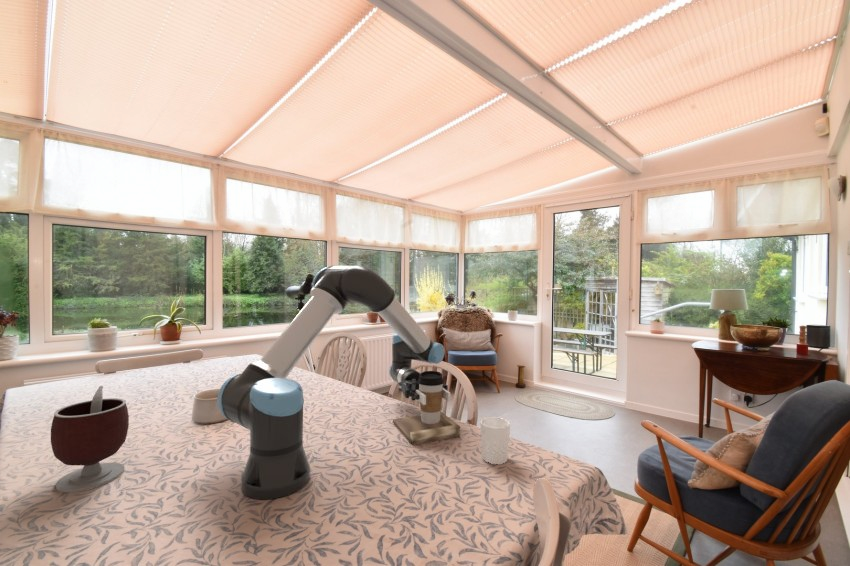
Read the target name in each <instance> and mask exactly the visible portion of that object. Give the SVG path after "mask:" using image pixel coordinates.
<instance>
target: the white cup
mask: <svg viewBox="0 0 850 566" xmlns="http://www.w3.org/2000/svg"><path fill="white" fill-rule="evenodd" d="M510 431H511V423H510V421H509V420H507V419H505V418H502V417H498V416H489V417H484V418H481V420H480V442H481V452H482V453H481V458H482V460H483V459H484V460H485V461H484V460H483V461H484V462H486V463H488V462H489V463H488V464H490V463H491V465H496V464H498V465H504V464H506V463H507V461H508V459H509V458H508V456H509V447H510V445H509V443H510V433H511V432H510ZM505 462H506V463H505ZM503 463H504V464H503Z"/></svg>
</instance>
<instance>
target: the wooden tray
mask: <svg viewBox="0 0 850 566" xmlns="http://www.w3.org/2000/svg"><path fill="white" fill-rule="evenodd" d="M393 423H394V424H393ZM392 424H393V425H394V427H396V429H397V430H398V429H399V430H400V431H399V432H400V433H401V434H402V435H403V437H404V438H405V437H406V438H405V439H406V440H407V441H408V442H409V443H410V444H412V445H411V446H414V444H416V445H420V443H421V444H426V442H427V443H431V442H436V441H437V442H439V441H442V440H443V439H444V440H448V439H455V438H460V437H461V425H459V424H458V423H456V422H455V421H454V420H453V419H451V418H450V416H448V415H446V414H445V413H443V412H442V411H441V412H440V421H439V422H438V423H435V424H426V423H423V422H422V421H421V414H420V415H414V416H407V417H406V416H405V417H401V418H392Z"/></svg>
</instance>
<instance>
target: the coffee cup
mask: <svg viewBox="0 0 850 566" xmlns="http://www.w3.org/2000/svg"><path fill="white" fill-rule="evenodd" d="M443 377H444V376H443V373H442V372H440V371H436V370H425V371H422V372H420V375H419V379H418V383H419V391H420V392H422V393H423V394H424V395H426V405H423V404H422V403H421V402H419V407H420V409H419V410H420V415H421V421H422V422H423V423H426V424H435V423H438V422H439V421H440V412H442V411H441V410H442V402H443V398H442V393H443V389H442V386H443V384H445V381H444V378H443Z"/></svg>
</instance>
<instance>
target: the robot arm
mask: <svg viewBox="0 0 850 566" xmlns="http://www.w3.org/2000/svg"><path fill="white" fill-rule="evenodd" d="M312 283H313V285H312V288H311V289H310V299H308V301H307V303H306V304H305V305H304V306H303V307H302V308H301V310H300V311H299V312H298V313H297V314H296V315H295V317H294V318H293V320H292V321H291V322H290V323H289V324H288V325H287V326H286V328H285V329H284V330H283V331H282V333H281V334H280V335H279V336H278V338H277V339H276V340H275V341H274V343H272V345H271V346H270V347H269V348H268V350H267V351H266V352H265V353H264V354H263V356H262V358H260V359H259V360H258V361H256V362H251V363H249V364H248V365H247V366H246V368H245V369H244V370H243V371H242V373H237V374H235V375H232V376H230V377H229V378H228V379H226V380H225V381H224V382H223V384H222V385H221V387H220V388H219V391H218V394H217V399H216V400H217V407H218V410H219V412H220V413H221V415H223V416H224V418H226V419H227V420H228V421H230V422H231V423H234V424H237V425H239V426H240V427H243V428H245V429H247V430H248V431H250V437H249V438H250V439H249V440H250V441H249V446H250V447H249V455H248V457H247V461H246V464H245V468H244V470H243V473H242V475H241V491H242V493H243V494H244V495H245V496H247V497H249V498H251V499H254V500H271V499H272V500H273V499H278V498H283V497H285V496H289V495H291V494H294V493H295V492H297V491H299V490H300V489H302V488H303V487H305V486H306V485H307V484H308V482H309V480H310V478H311V466H310V463H309V460H308V457H307V454H306V451H305V448H304V445H303V441H304V440H303V437H304V435H303V432H304V431H303V429H304V426H303V425H304V403H305V399H304V390H303V387H302V385H301V384H300V383H299V382H298V381H296V380H293V379H291V378H288V377H289V375H290V373H291V372H292V371H293V370H294V369H295V367H296V366H297V364H298V362H299V361H300V360H301V359H302V357H304V355H305V353H306V352H307V351H308V349H309V348H310V347H311V346H312V344H313V343H314V342H315V340H316V338H317V337H318V336H319V335H320V333H321V332H322V330H323V329H325V327H326V325H327V324H328V323H329V321H330V320H331V319H332V317H333V316H334V315H335V314H336V315H337V314H342V312H343V311H344V309H345V308H346V307H347V305H348V304H358V305H363V306H364V307H366V308H368V310H369V311H371V312H372V313H375V314H378V315H379V316H380V318H382V320H384V322H385V323H386V324H387V325H388V326H389V327H390V328H391V330H393V332H395V333H393V336H392V343H391V345H392V350H391V353H392V354H391V355H392V357H391V358H392V359H391V361H392V362H391V365H390V366H389V369H388V373H389V376H390V377H391V379H392V380H393V381H394V382H396V383H397V384H398V391H400V392H401V393H402V394H403V396H404V397H405V398H406V399H410V397H411V401H416V400H417V401H418V402H419V403H420V402H421V403H422V404H423V405H426V395H424V394H423V393H422V392H420V391H419V383H418V379H419V375H420V374H421V372H419V371H417V369H414V368H413V367H412V361H418V362H423V363H427V364H430V365H431V364H435V365H437V364H440V363H441V362H442V361H444V360H443V359H444V358H445V351H446V350H445V347H444V346H443V344H442V343H439V342H436V341H435V342H434V341H432V339H431V338H430V337H429V336H428V335H427V334H426V332H425V331H424V329H422V328H421V327H420V325H419V324H418V323H417V321H416V320H415V318H413V317H412V315H410V313H409V312H408V311H407V310H406V308H405V307H404V306H403V305H402V304H401V303H400V301H399V300H398V298H397V297H396V293H395V292H396V291H394V289H393V288H392V287H391V285H389V283H388V282H387V281H386V280H385V279H384V278H383V277H381V276H380V275H379V274H378V273H377V272H375V271H374V270H373V269H370V268H369V267H366V266H363V265H337V264H336V265H329V266H326V267H325V266H324V267H323V268H322V269H320V270H319V271H317V273H316V274H315V275H314V278H313V281H312ZM442 389H443V393H442V399H444V401H447V402H451V392H450V391H449V390H448V389H449V385H447V384H445V383H443V386H442Z"/></svg>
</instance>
